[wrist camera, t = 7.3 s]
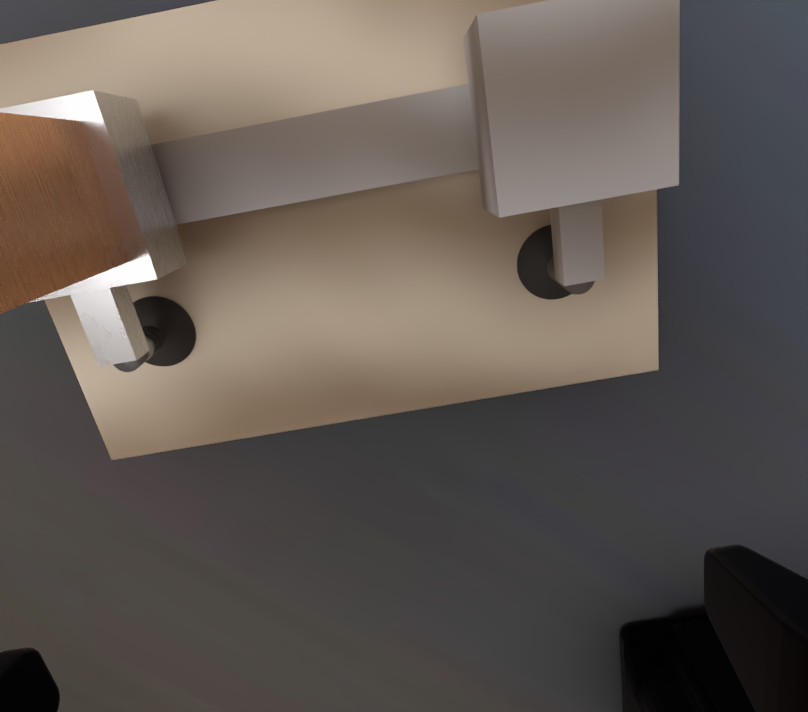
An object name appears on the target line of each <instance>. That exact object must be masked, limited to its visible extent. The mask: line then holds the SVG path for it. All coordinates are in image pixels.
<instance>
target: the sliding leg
mask: <svg viewBox="0 0 808 712" xmlns="http://www.w3.org/2000/svg"><path fill="white" fill-rule="evenodd" d="M186 264H188V260H187V257H186V253H185V250H184V247H183V244H182V241H181V238H180V234H179V231H178V228H177V225H176V222H175V219H174V215H173V212H172V209H171V206H170V203H169V200H168V197H167V193H166V190H165V187H164V184H163V181H162V178H161V174H160V171H159V168H158V165H157V162H156V159H155V155H154V152H153V149H152V146H151V143H150V140H149V137H148V133H147V130H146V127H145V124H144V121H143V118H142V114H141V111H140V108H139V105H138V102H137V100H136V99H132V98H127V97H123V96H118V95H113V94H109V93H104V92H99V91H95V90H92V91H87V92H82V93H76V94H71V95H66V96H61V97H56V98H51V99H46V100H41V101H36V102H31V103H26V104H21V105H16V106H11V107H6V108H1V109H0V313H3V312H5V311H8V310H10V309H13V308H15V307H18V306H20V305H23V304H25V303H28V302H34V301H39V300H45V299H51V298H56V297H62V296H67V295H70V296H71V298H72V301H73V303H74V306H75V308H76V311H77V313H78V316H79V318H80V321H81V323H82V326H83V328H84V331H85V333H86V336H87V338H88V341H89V343H90V346H91V348H92V351H93V353H94V356H95V358H96V361H97V363H98V365H99V367H101V366H107V365H112V364H113V366H114V367H116V368H117V369H118V370H120V371H123V372H132V371H135V370H136V369H137V368H139V367H140V366H141V365H142V364H143V363H145V362H146V361H147V360H148V359H149V358H151V357H152V356H153V355H154V354H155V353H157V352H158V351H159V350H160V349H161V348H162V347H163V346H164V343H165V338H164V335H163V333H162V332H161V331H160V330H159V329H158V328H156V327H154V326H144V327H141V324H140V321H139V318H138V316H137V313H136V310H135V307H134V305H133V302H132V299H131V296H130V294H129V291H128V288H127V285H128V284H134V283H139V282H145V281H150V280H156V279H159V278H161V277H163V276H165V275H167V274H168V273H170V272H172V271H174V270H176V269H178V268H180V267H182V266H184V265H186Z"/></svg>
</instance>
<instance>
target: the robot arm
mask: <svg viewBox="0 0 808 712" xmlns="http://www.w3.org/2000/svg"><path fill="white" fill-rule="evenodd" d="M704 602H705V607H706V611H707V614H708V615H704V616H697V617H690V618H683V619H676V620H669V621H662V622H655V623H648V624H641V625H634V626H630V627H627V628H625V629H624V630H623V631H622V632H621V633H620V652H621V674H622V696H623V712H808V579H807V578H805V577H803V576H801V575H799V574H797V573H795V572H793V571H791V570H789V569H787V568H785V567H783V566H781V565H780V564H778V563H776V562H774V561H772V560H770V559H768V558H766V557H764V556H762V555H760V554H758V553H756V552H754V551H752V550H751V549H749V548H746V547H744V546H741V545H730V546H723V547H716V548H711V549H709V550H707V551H706V553H705V556H704ZM59 702H60V694H59V689H58V687H57V685H56V683H55V681H54V679H53V677H52V675H51V673H50V672H49V670H48V668H47V666H46V664H45V662H44V660H43V658H42V657H41V655H40V653H39V652H38V651H37V650H35V649H34V648H21V649H14V650H8V651H4V652H1V653H0V712H57V710H58V707H59Z"/></svg>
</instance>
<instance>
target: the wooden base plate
mask: <svg viewBox="0 0 808 712" xmlns="http://www.w3.org/2000/svg"><path fill="white" fill-rule="evenodd" d="M679 44H680V0H217V1H212V2H207V3H202V4H197V5H192V6H187V7H182V8H178V9H173V10H168V11H163V12H158V13H153V14H148V15H143V16H138V17H133V18H128V19H124V20H119V21H114V22H109V23H104V24H99V25H94V26H89V27H84V28H79V29H74V30H69V31H65V32H60V33H55V34H50V35H45V36H40V37H35V38H30V39H25V40H20V41H15V42H11V43H6V44H1V45H0V109H1V108H6V107H11V106H16V105H21V104H26V103H31V102H36V101H41V100H46V99H51V98H56V97H61V96H66V95H71V94H76V93H82V92H87V91H92V90H95V91H99V92H104V93H109V94H113V95H118V96H123V97H127V98H132V99H136V100H137V102H138V105H139V108H140V111H141V114H142V118H143V121H144V124H145V127H146V130H147V133H148V137H149V140H150V143H151V146H152V149H153V152H154V155H155V159H156V162H157V165H158V168H159V171H160V174H161V178H162V181H163V184H164V187H165V190H166V193H167V197H168V200H169V203H170V206H171V209H172V212H173V215H174V219H175V222H176V225H177V228H178V231H179V234H180V238H181V241H182V244H183V247H184V250H185V253H186V257H187V260H188V264H186V265H184V266H182V267H180V268H178V269H176V270H174V271H172V272H170V273H168V274H167V275H165V276H163V277H161V278H159V279H156V280H150V281H145V282H139V283H134V284H128V285H127V288H128V291H129V294H130V296H131V299H132V302H133V305H134V307H135V310H136V313H137V316H138V318H139V321H140V324H141V327H144V326H154V327H156V328H158V329H159V330H160V331H161V332H162V333H163V335H164V338H165V343H164V346H163V347H162V348H161V349H160V350H159V351H158V352H157V353H155V354H154V355H153V356H152V357H151V358H149V359H148V360H147V361H146V362H145V363H143V364H142V365H141V366H140V367H139V368H137V369H136V370H135V371H132V372H123V371H120V370H118V369H117V368H116V367H114V366H113V364H112V365H107V366H101V367H99V365H98V363H97V361H96V358H95V356H94V353H93V351H92V348H91V346H90V343H89V341H88V338H87V336H86V333H85V331H84V328H83V326H82V323H81V321H80V318H79V316H78V313H77V311H76V308H75V306H74V303H73V301H72V298H71V296H70V295H67V296H62V297H56V298H51V299H45V303H46V305H47V307H48V310H49V312H50V314H51V317H52V319H53V322H54V324H55V326H56V329H57V331H58V333H59V336H60V338H61V341H62V343H63V345H64V348H65V350H66V352H67V355H68V357H69V360H70V362H71V364H72V367H73V369H74V371H75V374H76V376H77V379H78V381H79V383H80V386H81V388H82V390H83V393H84V395H85V398H86V400H87V402H88V405H89V407H90V409H91V412H92V414H93V417H94V419H95V421H96V424H97V426H98V428H99V431H100V433H101V436H102V438H103V440H104V443H105V445H106V447H107V450H108V452H109V455H110V457H111V459H112V460H115V459H121V458H128V457H134V456H140V455H146V454H152V453H158V452H164V451H170V450H176V449H182V448H188V447H194V446H200V445H206V444H212V443H219V442H225V441H231V440H237V439H243V438H249V437H255V436H261V435H267V434H273V433H279V432H285V431H291V430H297V429H303V428H309V427H316V426H322V425H328V424H334V423H340V422H346V421H352V420H358V419H364V418H370V417H376V416H382V415H388V414H394V413H400V412H406V411H413V410H419V409H425V408H431V407H437V406H443V405H449V404H455V403H461V402H467V401H473V400H479V399H485V398H491V397H497V396H504V395H510V394H516V393H522V392H528V391H534V390H540V389H546V388H552V387H558V386H564V385H570V384H576V383H582V382H588V381H594V380H601V379H607V378H613V377H619V376H625V375H631V374H637V373H643V372H649V371H655V370H659V358H658V258H657V189H661V188H667V187H672V186H678V185H679Z"/></svg>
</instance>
